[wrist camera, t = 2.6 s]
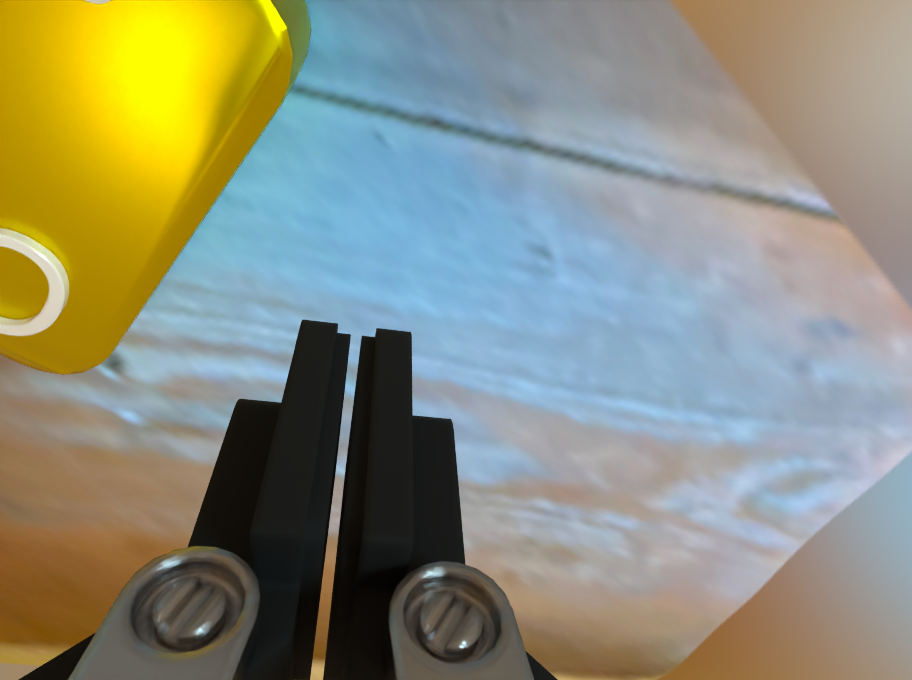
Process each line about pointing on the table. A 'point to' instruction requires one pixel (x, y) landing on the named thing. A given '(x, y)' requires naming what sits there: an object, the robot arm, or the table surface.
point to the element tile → (121, 152)
